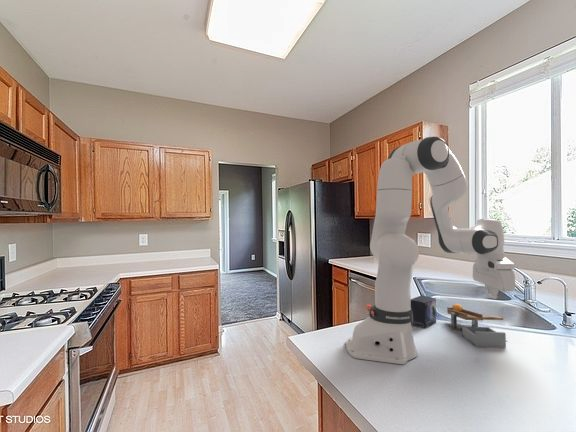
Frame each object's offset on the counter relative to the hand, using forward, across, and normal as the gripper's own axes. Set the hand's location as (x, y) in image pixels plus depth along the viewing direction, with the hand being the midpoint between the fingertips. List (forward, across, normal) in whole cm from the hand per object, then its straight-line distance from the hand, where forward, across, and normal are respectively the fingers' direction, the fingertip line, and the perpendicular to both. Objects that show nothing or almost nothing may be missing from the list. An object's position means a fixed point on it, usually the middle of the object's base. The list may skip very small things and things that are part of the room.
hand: (492, 297), depth 106 cm
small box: (+13, -8, -23) cm, 27 cm away
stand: (+13, -4, -9) cm, 16 cm away
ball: (+7, -9, -9) cm, 14 cm away
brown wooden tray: (+9, -4, -5) cm, 11 cm away
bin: (+13, +9, -9) cm, 18 cm away
